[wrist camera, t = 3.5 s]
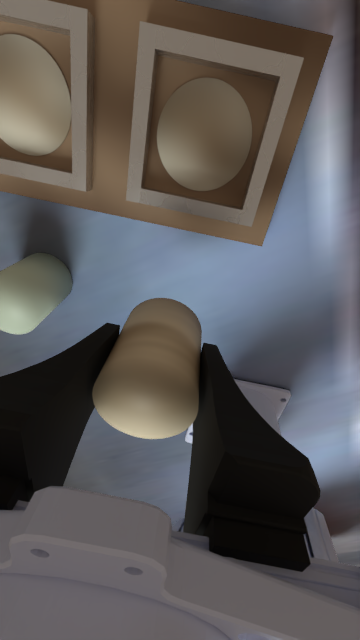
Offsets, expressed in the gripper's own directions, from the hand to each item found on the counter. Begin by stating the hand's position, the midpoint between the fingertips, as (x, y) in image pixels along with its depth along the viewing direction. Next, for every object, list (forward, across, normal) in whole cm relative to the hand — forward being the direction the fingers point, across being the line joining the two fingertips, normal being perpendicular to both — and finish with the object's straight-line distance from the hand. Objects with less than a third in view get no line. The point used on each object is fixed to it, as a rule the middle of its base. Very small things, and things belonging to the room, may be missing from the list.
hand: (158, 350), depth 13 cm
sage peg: (+9, +10, +2) cm, 13 cm away
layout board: (+9, +5, -9) cm, 13 cm away
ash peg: (+2, 0, 0) cm, 2 cm away
